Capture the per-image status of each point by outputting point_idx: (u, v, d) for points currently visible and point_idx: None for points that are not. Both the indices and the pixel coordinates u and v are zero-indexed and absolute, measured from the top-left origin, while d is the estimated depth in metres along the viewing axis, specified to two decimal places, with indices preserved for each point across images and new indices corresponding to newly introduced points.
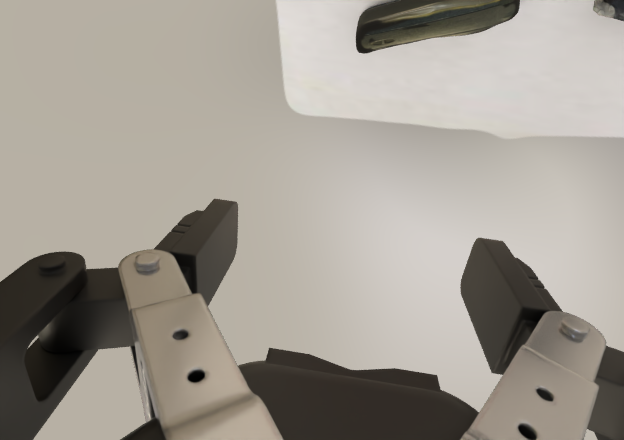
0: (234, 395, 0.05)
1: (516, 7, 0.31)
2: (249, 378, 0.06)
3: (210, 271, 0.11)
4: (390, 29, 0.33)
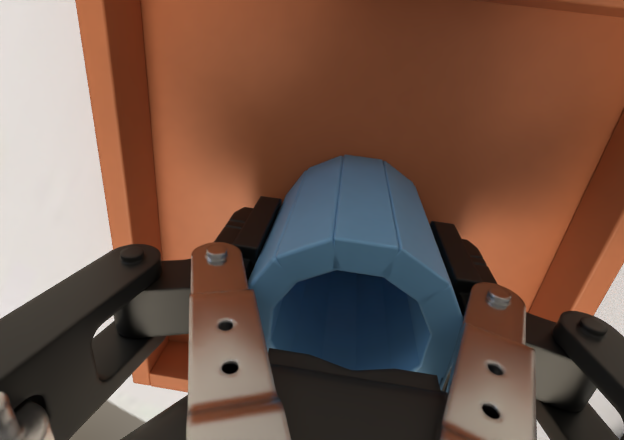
0: (260, 395, 0.05)
1: None
2: None
3: None
4: None
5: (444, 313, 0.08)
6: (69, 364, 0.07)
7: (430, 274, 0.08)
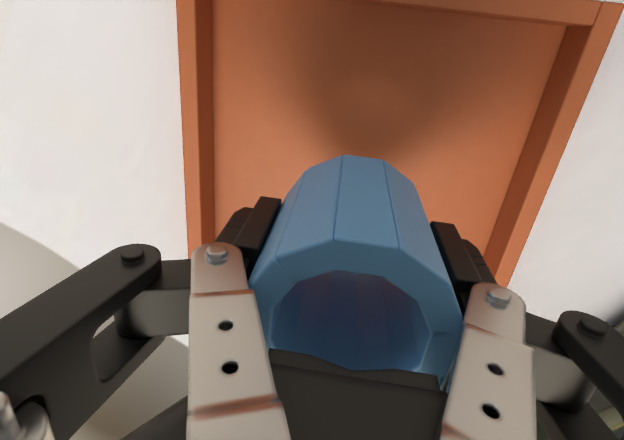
0: (260, 395, 0.05)
1: None
2: None
3: None
4: None
5: (444, 313, 0.08)
6: (69, 364, 0.07)
7: (430, 274, 0.08)
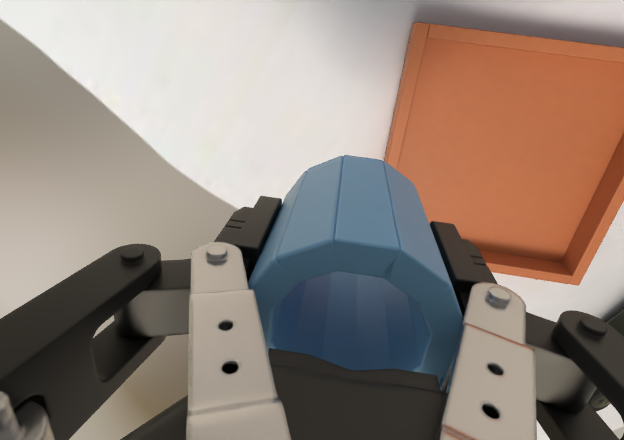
0: (260, 395, 0.05)
1: None
2: None
3: None
4: None
5: (444, 314, 0.08)
6: (69, 364, 0.07)
7: (430, 275, 0.08)
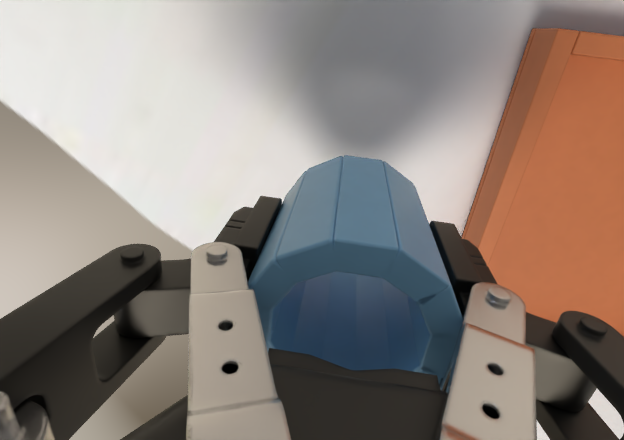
0: (260, 395, 0.05)
1: None
2: None
3: None
4: None
5: (444, 314, 0.08)
6: (69, 364, 0.07)
7: (430, 275, 0.08)
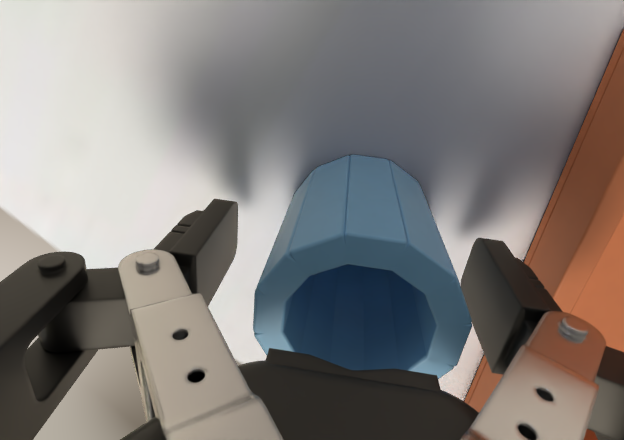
0: (234, 396, 0.05)
1: None
2: (249, 378, 0.06)
3: (210, 272, 0.11)
4: None
5: (450, 305, 0.09)
6: (3, 387, 0.06)
7: (437, 267, 0.08)
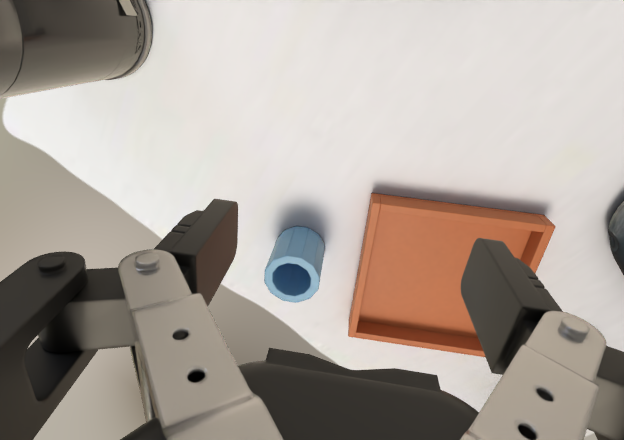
0: (234, 396, 0.05)
1: None
2: (249, 378, 0.06)
3: (210, 272, 0.11)
4: None
5: (313, 272, 0.35)
6: (3, 387, 0.06)
7: (308, 263, 0.35)
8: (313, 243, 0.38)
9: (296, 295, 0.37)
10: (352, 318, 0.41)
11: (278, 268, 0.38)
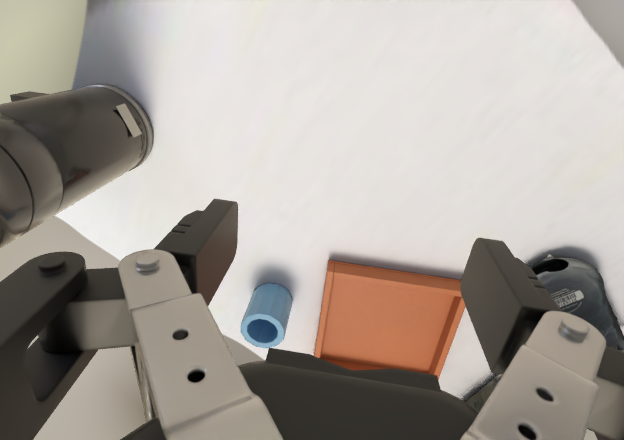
0: (234, 396, 0.05)
1: None
2: (249, 378, 0.06)
3: (210, 272, 0.11)
4: None
5: (279, 326, 0.44)
6: (3, 388, 0.06)
7: (275, 319, 0.44)
8: (281, 299, 0.47)
9: (266, 342, 0.46)
10: None
11: None
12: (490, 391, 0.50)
